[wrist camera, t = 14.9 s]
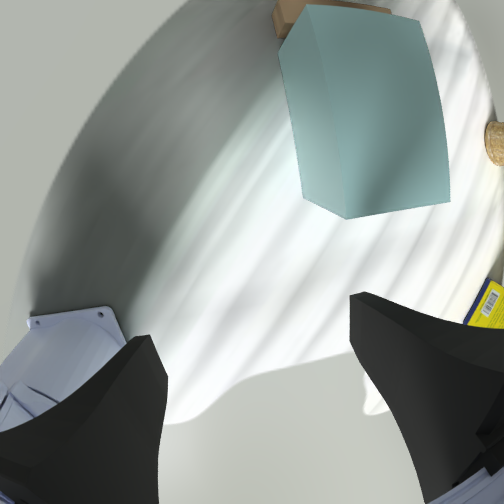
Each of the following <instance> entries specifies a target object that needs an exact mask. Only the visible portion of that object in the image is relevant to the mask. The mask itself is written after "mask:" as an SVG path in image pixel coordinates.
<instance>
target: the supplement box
mask: <svg viewBox="0 0 504 504" xmlns="http://www.w3.org/2000/svg"><path fill="white" fill-rule="evenodd" d="M463 324H464V325H470V326H477V327H485V328H497V329H504V287H502V286H501V285H499V284H498V283H496V282H494V281H493V280H491V279H489V278H487V279H486V281H485V283H484V285H483V287H482V289H481V291H480V293H479V295H478V297H477V299H476V301H475V302H474V304H473V306H472V308H471V310H470V311H469V313H468V315H467V317H466V318H465V320H464V322H463Z"/></svg>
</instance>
